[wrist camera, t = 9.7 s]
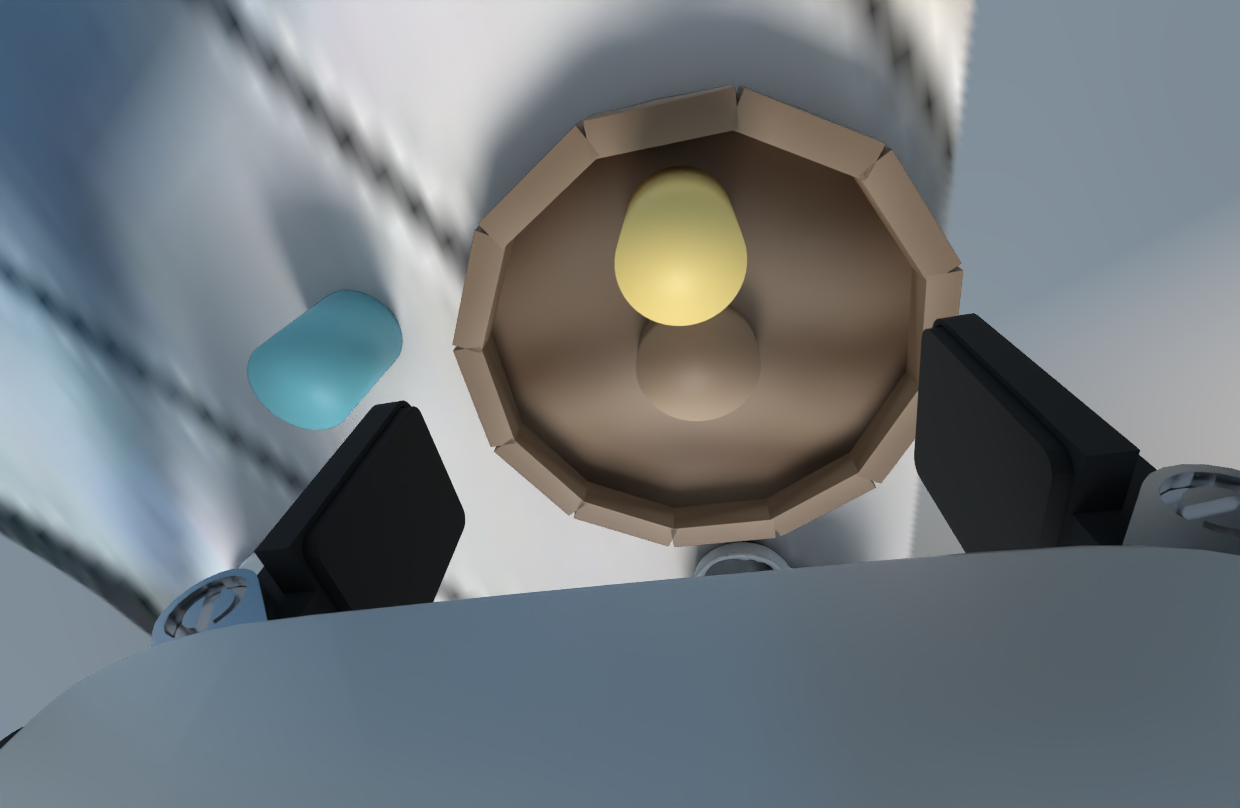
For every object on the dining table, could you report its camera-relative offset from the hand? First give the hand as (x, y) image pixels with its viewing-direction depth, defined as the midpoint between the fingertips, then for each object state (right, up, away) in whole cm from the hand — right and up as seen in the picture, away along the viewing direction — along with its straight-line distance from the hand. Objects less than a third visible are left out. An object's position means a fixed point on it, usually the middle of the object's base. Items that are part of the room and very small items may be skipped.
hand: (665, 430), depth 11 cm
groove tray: (+2, +3, +15) cm, 15 cm away
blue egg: (-13, +4, +16) cm, 21 cm away
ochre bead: (+1, +7, +11) cm, 13 cm away
